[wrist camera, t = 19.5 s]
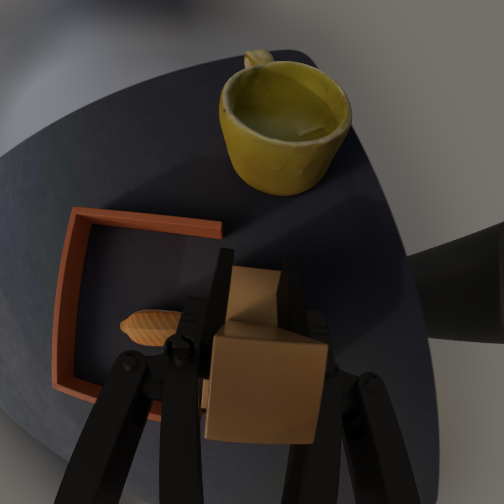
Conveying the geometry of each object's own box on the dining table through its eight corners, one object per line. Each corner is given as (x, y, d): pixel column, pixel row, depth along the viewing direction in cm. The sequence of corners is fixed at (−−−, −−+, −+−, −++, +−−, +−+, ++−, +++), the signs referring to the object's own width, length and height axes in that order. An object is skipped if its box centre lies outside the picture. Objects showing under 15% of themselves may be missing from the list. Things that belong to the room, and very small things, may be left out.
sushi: (201, 342, 21) (196, 347, 18) (125, 341, 21) (111, 345, 18) (199, 308, 22) (194, 309, 19) (124, 309, 21) (109, 309, 18)
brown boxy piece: (219, 270, 22) (189, 185, 7) (282, 278, 22) (374, 210, 7) (205, 394, 20) (162, 520, 5) (268, 400, 20) (325, 527, 5)
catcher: (223, 232, 23) (222, 221, 20) (202, 414, 20) (198, 428, 17) (88, 217, 22) (72, 206, 19) (69, 380, 19) (52, 388, 16)
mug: (362, 201, 22) (372, 114, 13) (245, 223, 24) (195, 151, 15) (328, 106, 27) (317, 28, 18) (237, 126, 29) (203, 55, 20)
